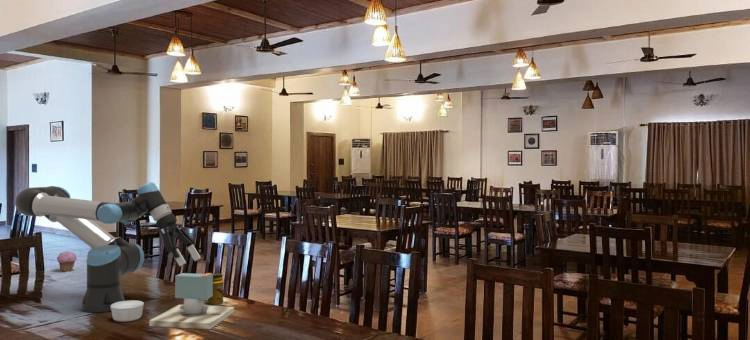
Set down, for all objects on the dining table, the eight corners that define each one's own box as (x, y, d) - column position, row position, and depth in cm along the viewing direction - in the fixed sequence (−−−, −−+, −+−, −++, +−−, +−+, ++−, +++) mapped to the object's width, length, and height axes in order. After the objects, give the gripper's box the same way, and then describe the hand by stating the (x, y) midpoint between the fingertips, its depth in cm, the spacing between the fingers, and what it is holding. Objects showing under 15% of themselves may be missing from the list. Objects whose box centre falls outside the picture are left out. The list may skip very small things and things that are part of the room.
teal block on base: (173, 313, 199) (173, 275, 199) (182, 308, 206) (183, 271, 206) (205, 315, 197) (205, 276, 197) (213, 310, 204) (213, 272, 204)
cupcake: (54, 271, 285) (54, 251, 285) (72, 268, 291) (72, 249, 291) (61, 273, 279) (61, 253, 279) (79, 271, 286) (79, 251, 285)
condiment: (226, 304, 223) (226, 274, 223) (205, 307, 218) (205, 276, 218) (220, 300, 229) (221, 271, 229) (200, 303, 224) (200, 273, 224)
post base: (149, 326, 192) (149, 319, 192) (179, 309, 214) (179, 303, 214) (210, 329, 189) (210, 322, 189) (234, 312, 211) (234, 306, 211)
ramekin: (122, 324, 194) (122, 309, 194) (103, 319, 200) (103, 305, 200) (150, 317, 203) (150, 303, 203) (131, 312, 209) (131, 298, 209)
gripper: (156, 214, 213) (184, 261, 211) (185, 210, 238) (210, 252, 236) (140, 224, 214) (168, 271, 212) (171, 220, 238) (196, 262, 237)
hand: (190, 262), depth 224 cm, fingers open, 13 cm apart
